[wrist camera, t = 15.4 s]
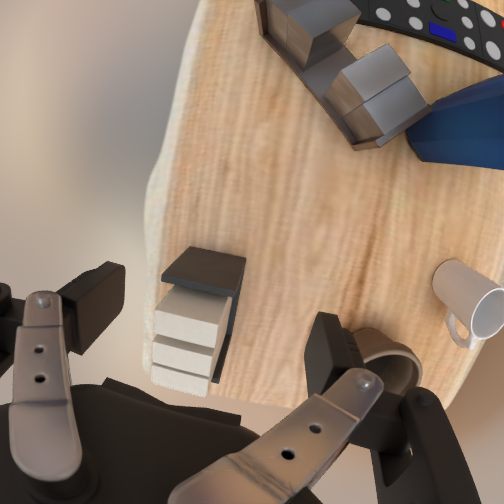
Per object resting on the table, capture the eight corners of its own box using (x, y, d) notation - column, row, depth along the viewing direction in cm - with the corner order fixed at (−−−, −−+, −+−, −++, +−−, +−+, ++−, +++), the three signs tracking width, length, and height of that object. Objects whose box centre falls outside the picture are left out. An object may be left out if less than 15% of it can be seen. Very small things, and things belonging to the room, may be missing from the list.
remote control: (519, 81, 29) (526, 79, 27) (350, 22, 30) (353, 16, 28) (510, 26, 25) (516, 23, 24) (347, -35, 27) (349, -42, 25)
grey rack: (259, 34, 32) (252, -11, 21) (305, 7, 30) (313, -41, 19) (354, 151, 35) (386, 147, 24) (398, 120, 34) (442, 107, 22)
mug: (437, 254, 38) (482, 285, 26) (471, 259, 38) (517, 289, 26) (418, 318, 41) (452, 363, 29) (451, 320, 41) (488, 361, 29)
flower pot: (411, 345, 42) (435, 384, 33) (354, 386, 45) (366, 430, 35) (375, 296, 40) (399, 333, 31) (312, 344, 43) (319, 389, 34)
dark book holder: (189, 246, 41) (146, 289, 26) (246, 257, 40) (229, 309, 26) (180, 325, 44) (144, 388, 30) (231, 336, 44) (212, 407, 30)
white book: (193, 262, 40) (154, 309, 27) (238, 271, 40) (218, 325, 27) (190, 280, 41) (153, 333, 28) (234, 289, 41) (214, 348, 27)
